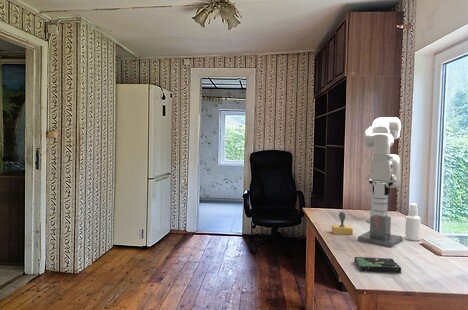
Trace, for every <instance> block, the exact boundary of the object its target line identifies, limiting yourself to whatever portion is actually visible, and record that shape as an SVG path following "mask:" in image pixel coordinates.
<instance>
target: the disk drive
mask: <svg viewBox="0 0 468 310" xmlns="http://www.w3.org/2000/svg"><path fill="white" fill-rule="evenodd" d="M355 263H356V264H355ZM354 264H355V266H356V267H357V266H358V267H357V268H358V270H359V271H360V272H365V271H367V272H369V273H371V272H372V273H386V274H387V273H389V274H402V267H401V266H400V265H399V264H398V263H397V262H395V261H394V259H393V258H387V257H385V258H384V257H369V256H368V257H367V256H366V257H364V256H359V257H358V256H354ZM367 272H366V273H367Z"/></svg>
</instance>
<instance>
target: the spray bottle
mask: <svg viewBox="0 0 468 310" xmlns="http://www.w3.org/2000/svg"><path fill="white" fill-rule="evenodd" d="M408 208H409V209H408V215H406V216H405V239H406V240H410V241H421V234H422V232H421V230H422V229H421V227H422V223H421V222H422V219H421V217H420V216H419V215H418V214H419V212H418V211H419V208H418V204H417V203H414V202H413V203H412V202H411V203H409V207H408Z"/></svg>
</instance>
